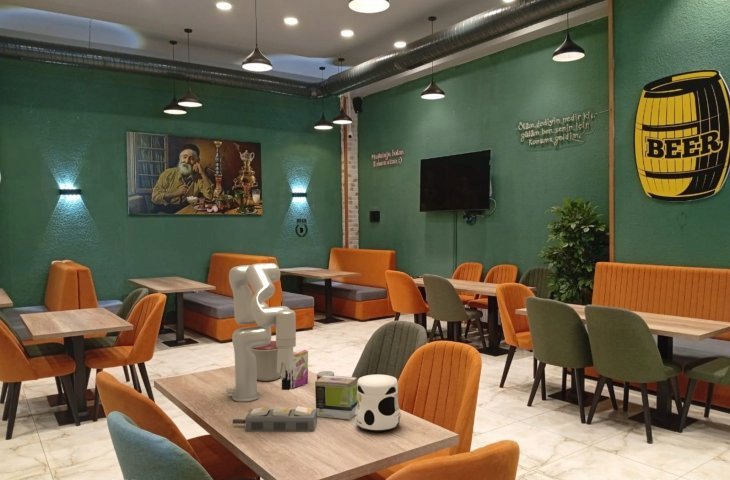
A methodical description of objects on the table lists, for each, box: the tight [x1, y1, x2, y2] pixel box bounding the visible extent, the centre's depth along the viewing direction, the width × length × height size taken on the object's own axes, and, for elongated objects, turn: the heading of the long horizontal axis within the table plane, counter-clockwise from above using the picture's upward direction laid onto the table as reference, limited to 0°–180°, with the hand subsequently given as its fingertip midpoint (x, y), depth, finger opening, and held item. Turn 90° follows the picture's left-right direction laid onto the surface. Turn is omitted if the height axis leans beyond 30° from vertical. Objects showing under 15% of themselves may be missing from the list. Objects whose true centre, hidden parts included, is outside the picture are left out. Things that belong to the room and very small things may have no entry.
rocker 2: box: [272, 406, 292, 416], centre depth 207 cm, size 6×5×2 cm
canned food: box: [316, 370, 335, 380], centre depth 241 cm, size 8×8×11 cm
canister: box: [251, 340, 282, 382], centre depth 272 cm, size 18×18×21 cm
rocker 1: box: [250, 405, 270, 416], centre depth 208 cm, size 6×5×2 cm
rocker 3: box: [295, 405, 314, 416], centre depth 207 cm, size 6×5×2 cm
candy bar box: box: [289, 349, 309, 390], centre depth 260 cm, size 11×5×16 cm, turn 144°
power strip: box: [232, 408, 318, 432], centre depth 207 cm, size 32×9×5 cm, turn 87°
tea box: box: [314, 375, 358, 421], centre depth 220 cm, size 15×10×15 cm
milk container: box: [354, 374, 401, 432], centre depth 206 cm, size 17×17×18 cm
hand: (286, 389), depth 207 cm, fingers closed
